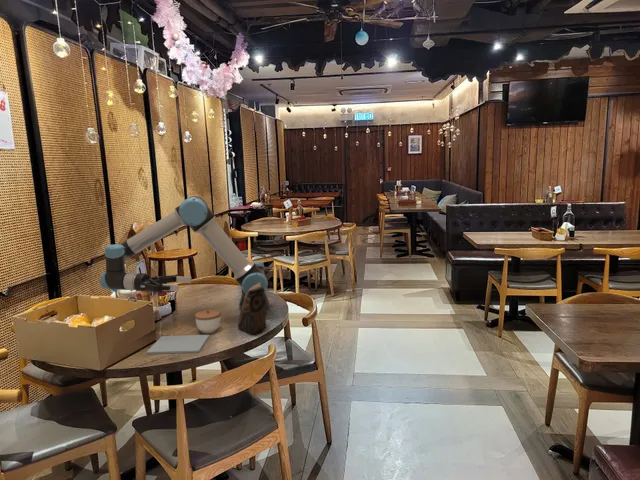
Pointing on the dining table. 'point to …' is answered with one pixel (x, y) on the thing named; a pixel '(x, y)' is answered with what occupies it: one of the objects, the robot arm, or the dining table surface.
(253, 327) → the owl
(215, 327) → the lidded jar
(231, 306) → the dining table surface
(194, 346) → the mat
